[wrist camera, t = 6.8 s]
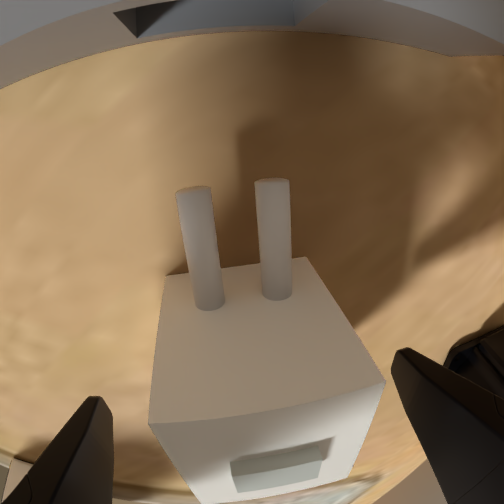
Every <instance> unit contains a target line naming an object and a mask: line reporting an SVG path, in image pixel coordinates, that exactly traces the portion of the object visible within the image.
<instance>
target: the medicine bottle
mask: <svg viewBox="0 0 504 504" xmlns="http://www.w3.org/2000/svg"><path fill="white" fill-rule="evenodd" d="M32 466H33V464H30V463H27V462H24V461H21V460H18V459H15V458H14V459H12V460H11V463H10V467H9V471H8V475H7V479H6V483H5V487H4V491H3V496H2V500H1V503H2V502H3V501H4V500H5V499H6V498H7V497H8V495H9V494H10V493H11V492H12V491H13V490H14V489H15V487H16V486H17V485H18V484H19V482H20V481H21V480H22V479H23V477H24V476H25V475H26V474H28V473H27V472H28V471H29V470H30V468H31V467H32Z"/></svg>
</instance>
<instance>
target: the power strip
mask: <svg viewBox="0 0 504 504" xmlns="http://www.w3.org/2000/svg"><path fill="white" fill-rule="evenodd" d="M237 31H302V32H318V33H330V34H340V35H349V36H356V37H363V38H370V39H376V40H382V41H388V42H393V43H398V44H403V45H407V46H412V47H416V48H420V49H424V50H428V51H432V52H436V53H440V54H443V55H447V56H450V57H453V56H481V55H499V56H504V0H0V89H1V88H3V87H6V86H8V85H10V84H12V83H14V82H17V81H19V80H21V79H24V78H26V77H29V76H31V75H34V74H36V73H39V72H41V71H44V70H47V69H49V68H52V67H55V66H58V65H61V64H64V63H67V62H70V61H73V60H76V59H79V58H83V57H86V56H90V55H93V54H97V53H101V52H104V51H108V50H112V49H116V48H121V47H125V46H130V45H134V44H139V43H144V42H150V41H155V40H161V39H167V38H174V37H181V36H189V35H198V34H208V33H220V32H237Z"/></svg>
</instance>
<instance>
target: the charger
mask: <svg viewBox="0 0 504 504" xmlns="http://www.w3.org/2000/svg"><path fill="white" fill-rule="evenodd" d="M254 184H255V197H256V211H257V225H258V239H259V253H260V263H257V264H250V265H243V266H235V267H228V268H221V266H220V259H219V251H218V244H217V236H216V228H215V220H214V212H213V204H212V196H211V188H210V187H207V186H195V187H189V188H185V189H181V190H179V191H177V192H176V200H177V207H178V213H179V219H180V225H181V231H182V237H183V243H184V248H185V254H186V259H187V265H188V270H189V273H183V274H176V275H168V276H166V278H165V284H164V290H163V296H162V303H161V309H160V316H159V323H158V331H157V338H156V346H155V355H154V363H153V372H152V382H151V392H150V404H149V416H148V425H149V426H150V428H151V430H152V431H153V433H154V435H155V436H156V438H157V440H158V441H159V443H160V445H161V446H162V448H163V449H164V451H165V452H166V454H167V456H168V457H169V459H170V460H171V462H172V463H173V465H174V466H175V468H176V469H177V471H178V472H179V474H180V475H181V476H182V478H183V479H184V481H185V482H186V484H187V485H188V486H189V488H190V489H191V490H192V492H193V493H194V495H195V496H196V497H197V499H198V500H199V501H200V502H201V504H214V503H225V502H234V501H242V500H250V499H257V498H263V497H269V496H275V495H280V494H285V493H290V492H294V491H299V490H303V489H308V488H312V487H316V486H320V485H323V484H327V483H331V482H334V481H338V480H341V479H344V478H347V477H348V475H349V473H350V471H351V469H352V467H353V464H354V462H355V460H356V458H357V456H358V453H359V451H360V449H361V446H362V444H363V442H364V439H365V437H366V434H367V432H368V430H369V427H370V424H371V422H372V419H373V417H374V414H375V411H376V409H377V406H378V403H379V400H380V398H381V395H382V392H383V389H384V386H385V383H386V380H385V379H384V377H383V375H382V374H381V372H380V370H379V369H378V367H377V366H376V364H375V362H374V361H373V359H372V357H371V356H370V354H369V353H368V351H367V349H366V348H365V346H364V345H363V343H362V341H361V340H360V338H359V337H358V335H357V334H356V332H355V330H354V329H353V327H352V326H351V324H350V323H349V321H348V320H347V318H346V316H345V315H344V313H343V312H342V310H341V309H340V307H339V306H338V304H337V303H336V301H335V299H334V298H333V296H332V295H331V293H330V292H329V290H328V289H327V287H326V286H325V284H324V283H323V281H322V280H321V278H320V277H319V275H318V274H317V272H316V271H315V269H314V268H313V266H312V265H311V263H310V262H309V260H308V259H307V257H300V258H293V259H292V249H291V211H290V184H289V180H288V179H285V178H264V179H259V180H257V181H255V182H254Z"/></svg>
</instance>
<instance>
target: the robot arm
mask: <svg viewBox="0 0 504 504" xmlns="http://www.w3.org/2000/svg"><path fill="white" fill-rule="evenodd" d="M391 374H392V377H393V380H394V382H395V385H396V388H397V390H398V393H399V396H400V399H401V401H402V404H403V407H404V409H405V412H406V414H407V416H408V418H409V420H410V422H411V424H412V426H413V429H414V431H415V433H416V435H417V437H418V439H419V441H420V443H421V445H422V447H423V449H424V452H425V454H426V456H427V458H428V460H429V462H430V465H431V467H432V469H433V471H434V473H435V476H436V478H437V480H438V482H439V485H440V487H441V489H442V492H443V493H444V496H445V498H446V501H447V503H448V504H504V326H502V327H500V328H498V329H496V330H494V331H492V332H490V333H488V334H486V335H484V336H481V337H479V338H477V339H475V340H472V341H470V342H468V343H465V344H463V345H461V346H458V347H456V348H454V349H453V350H452V351H451V352H450V353H449V355H448V357H447V359H446V362H445V364H444V366H442V365H440V364H438V363H436V362H435V361H433V360H431V359H429V358H427V357H426V356H424V355H422V354H420V353H418V352H417V351H415V350H413V349H411V348H409V347H406V348H403V349H399V350H397V351H396V353H395V356H394V360H393V363H392V366H391ZM113 470H114V447H113V416H112V413H111V411H110V409H109V408H108V406H107V404H106V403H105V401H104V400H103V398H102V397H100V396H89V397H88V398H86V400H85V401H84V402H83V403H82V405H81V406H80V407H79V408H78V409H77V411H76V412H75V413H74V414H73V416H72V417H71V418H70V419H69V420H68V422H67V423H66V424H65V425H64V427H63V428H62V429H61V430H60V432H59V433H58V434H57V435H56V437H55V438H54V439H53V440H52V442H51V443H50V444H49V445H48V447H47V448H46V449H45V450H44V452H43V453H42V454H41V455H40V457H39V458H38V459H37V461H36V462H35V463H34V464H33V466H32V467H31V468H30V470H29V471H28V472H27V473H28V474H26V475H25V476H24V477H23V479H22V480H21V481H20V482H19V484H18V485H17V486H16V487H15V489H14V490H13V491H12V492H11V493H10V494H9V495H8V497H7V498H6V499H5V500H4V501H3V502H2V503H1V504H112V490H113Z"/></svg>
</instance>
